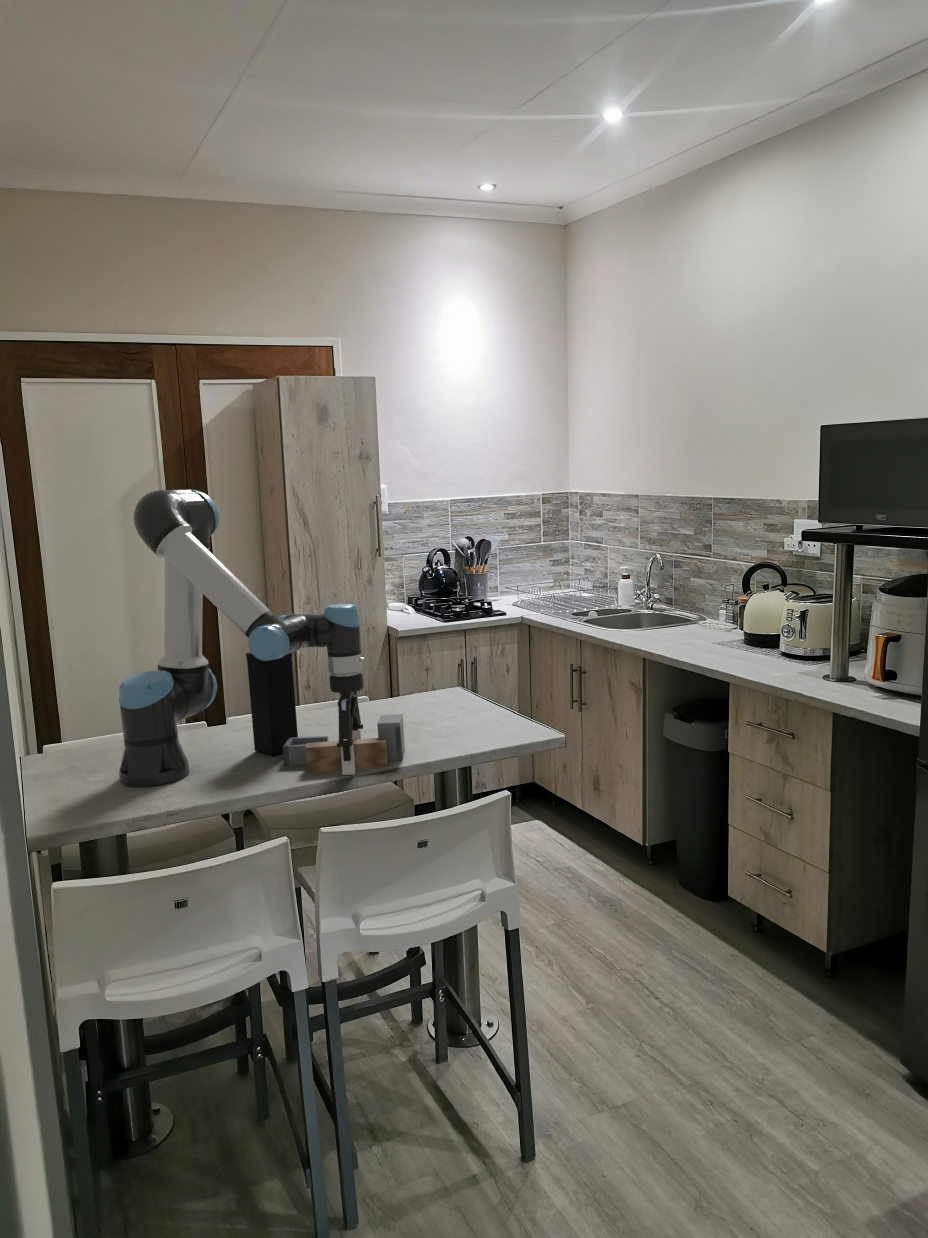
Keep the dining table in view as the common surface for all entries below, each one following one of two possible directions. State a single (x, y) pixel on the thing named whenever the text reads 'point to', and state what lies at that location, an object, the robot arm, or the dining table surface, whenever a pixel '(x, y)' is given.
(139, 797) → the dining table surface
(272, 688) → the black tall block
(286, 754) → the end cap
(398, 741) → the end cap
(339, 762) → the brown wooden block
